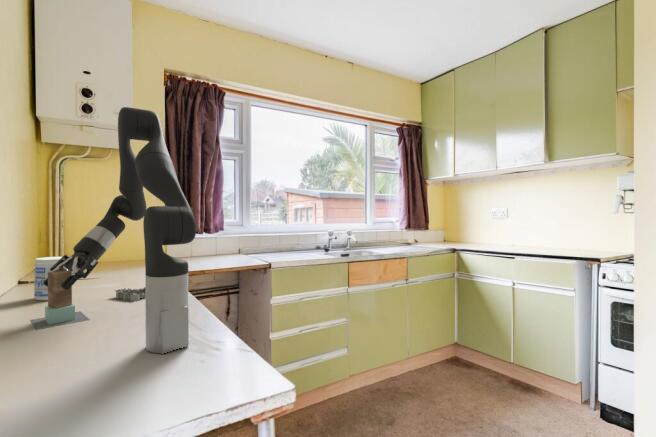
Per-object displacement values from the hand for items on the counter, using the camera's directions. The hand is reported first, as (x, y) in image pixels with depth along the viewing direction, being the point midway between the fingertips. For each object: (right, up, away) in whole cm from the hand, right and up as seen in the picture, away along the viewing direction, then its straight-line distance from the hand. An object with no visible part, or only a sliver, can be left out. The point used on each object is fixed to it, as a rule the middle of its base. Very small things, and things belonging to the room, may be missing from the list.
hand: (54, 286), depth 97 cm
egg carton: (+6, -10, +28) cm, 30 cm away
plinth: (0, -10, +1) cm, 10 cm away
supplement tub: (-23, -10, +27) cm, 37 cm away
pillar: (0, -6, +1) cm, 6 cm away
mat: (0, -10, +1) cm, 10 cm away
